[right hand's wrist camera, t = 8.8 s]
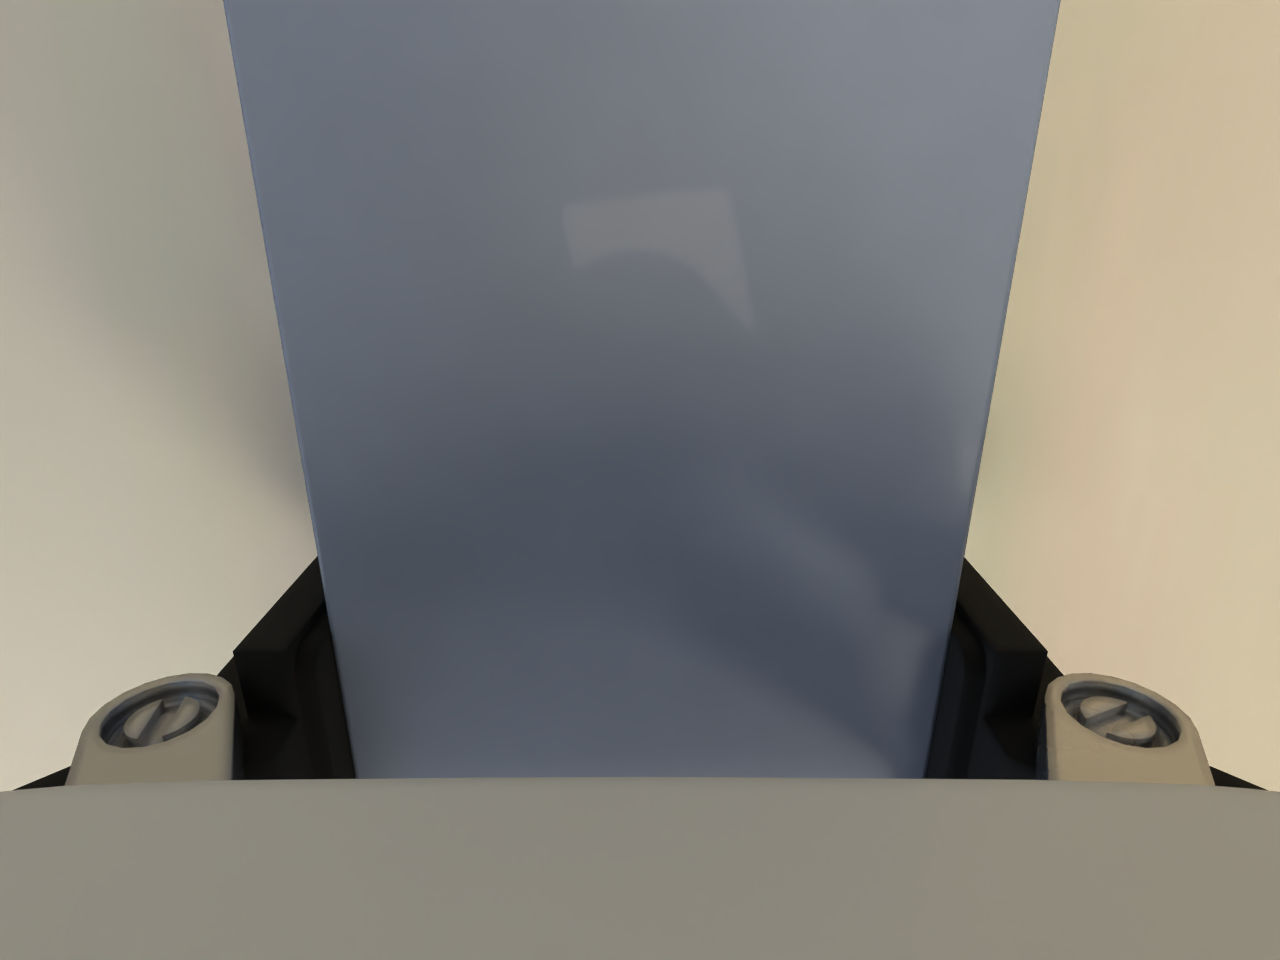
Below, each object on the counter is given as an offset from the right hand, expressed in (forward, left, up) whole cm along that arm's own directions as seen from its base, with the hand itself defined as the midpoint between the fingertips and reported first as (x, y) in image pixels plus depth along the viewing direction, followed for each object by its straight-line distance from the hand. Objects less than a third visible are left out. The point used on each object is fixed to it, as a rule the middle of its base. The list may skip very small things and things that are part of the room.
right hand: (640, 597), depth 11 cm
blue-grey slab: (+1, -3, -5) cm, 6 cm away
